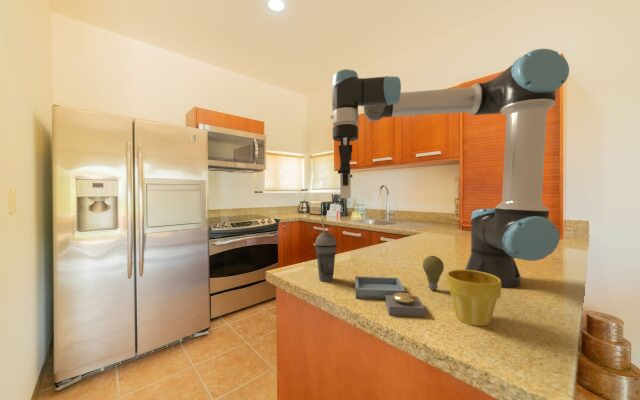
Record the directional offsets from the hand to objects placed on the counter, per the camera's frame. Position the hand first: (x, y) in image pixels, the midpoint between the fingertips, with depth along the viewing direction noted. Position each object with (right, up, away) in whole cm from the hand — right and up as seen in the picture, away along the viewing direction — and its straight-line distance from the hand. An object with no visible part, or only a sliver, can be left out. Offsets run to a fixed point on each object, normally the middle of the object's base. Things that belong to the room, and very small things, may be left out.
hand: (346, 198), depth 76 cm
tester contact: (+13, -25, -14) cm, 31 cm away
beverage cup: (-6, -27, +8) cm, 29 cm away
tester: (+13, -27, -14) cm, 33 cm away
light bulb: (+25, -27, -1) cm, 37 cm away
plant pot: (+26, -27, -19) cm, 42 cm away
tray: (+9, -27, -2) cm, 29 cm away
